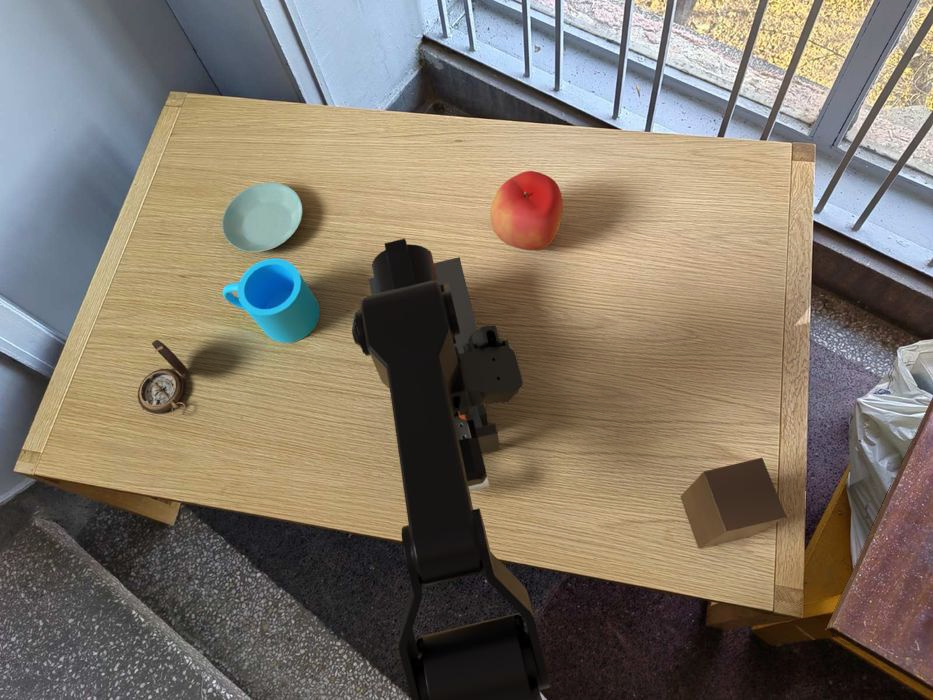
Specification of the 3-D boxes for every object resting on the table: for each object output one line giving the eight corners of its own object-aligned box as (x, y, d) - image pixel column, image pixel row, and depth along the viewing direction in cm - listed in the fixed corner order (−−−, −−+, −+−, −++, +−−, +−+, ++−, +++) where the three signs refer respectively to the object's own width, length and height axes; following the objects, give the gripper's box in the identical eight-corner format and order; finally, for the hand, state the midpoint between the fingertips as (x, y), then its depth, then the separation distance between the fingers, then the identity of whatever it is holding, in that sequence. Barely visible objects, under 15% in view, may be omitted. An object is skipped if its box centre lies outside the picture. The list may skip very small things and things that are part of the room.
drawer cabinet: (488, 381, 86) (483, 354, 78) (399, 402, 86) (385, 378, 78) (466, 290, 92) (459, 256, 84) (382, 310, 92) (367, 278, 84)
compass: (131, 396, 90) (99, 375, 84) (177, 353, 92) (149, 330, 85) (167, 433, 87) (137, 415, 81) (213, 389, 89) (188, 368, 83)
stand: (750, 536, 76) (786, 517, 65) (698, 548, 76) (725, 531, 65) (730, 484, 78) (762, 457, 67) (680, 496, 78) (703, 471, 67)
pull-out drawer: (510, 489, 80) (508, 475, 73) (423, 509, 80) (414, 498, 73) (477, 356, 87) (473, 334, 81) (398, 375, 87) (387, 354, 81)
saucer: (226, 265, 97) (219, 256, 95) (229, 197, 102) (223, 188, 100) (307, 253, 97) (302, 245, 95) (306, 186, 101) (302, 176, 99)
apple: (524, 195, 97) (523, 148, 88) (577, 230, 94) (581, 185, 85) (479, 239, 95) (473, 196, 86) (531, 277, 92) (531, 236, 83)
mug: (326, 292, 94) (308, 261, 86) (311, 346, 91) (290, 319, 83) (245, 283, 96) (221, 252, 88) (227, 335, 92) (200, 308, 85)
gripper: (539, 446, 58) (538, 486, 72) (489, 264, 66) (498, 332, 80) (412, 476, 58) (436, 511, 72) (377, 290, 66) (405, 354, 80)
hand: (447, 422), depth 76 cm, fingers closed on block, 4 cm apart
